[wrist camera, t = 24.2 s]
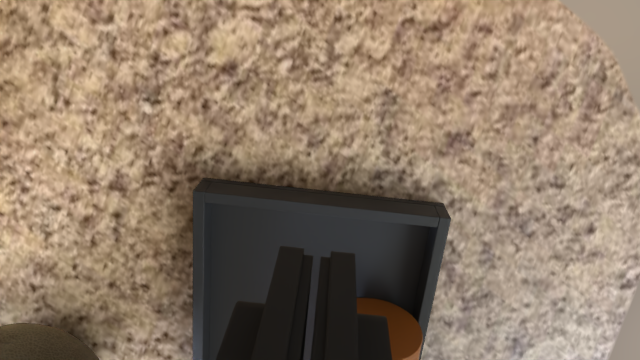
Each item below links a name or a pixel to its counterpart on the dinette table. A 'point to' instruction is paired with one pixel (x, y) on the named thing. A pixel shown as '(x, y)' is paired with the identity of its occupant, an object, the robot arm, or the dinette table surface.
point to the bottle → (396, 327)
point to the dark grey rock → (41, 344)
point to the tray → (308, 249)
